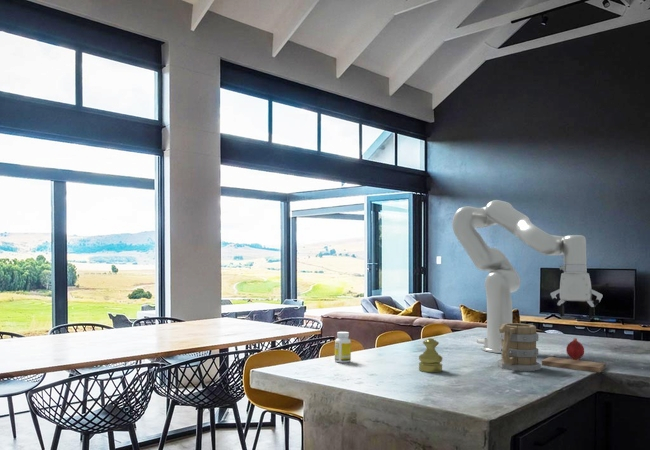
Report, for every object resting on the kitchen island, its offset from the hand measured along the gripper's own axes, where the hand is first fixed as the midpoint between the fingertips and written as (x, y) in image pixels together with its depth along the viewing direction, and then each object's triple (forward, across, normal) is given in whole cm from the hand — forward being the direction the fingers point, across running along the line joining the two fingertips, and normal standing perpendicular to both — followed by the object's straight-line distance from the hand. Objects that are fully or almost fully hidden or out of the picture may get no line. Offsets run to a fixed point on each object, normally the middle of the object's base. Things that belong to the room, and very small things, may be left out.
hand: (576, 317), depth 198 cm
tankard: (+16, -13, -30) cm, 36 cm away
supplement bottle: (+14, -62, -58) cm, 86 cm away
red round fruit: (+16, -1, 0) cm, 16 cm away
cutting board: (+16, +1, -12) cm, 20 cm away
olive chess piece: (+15, -33, -51) cm, 63 cm away
